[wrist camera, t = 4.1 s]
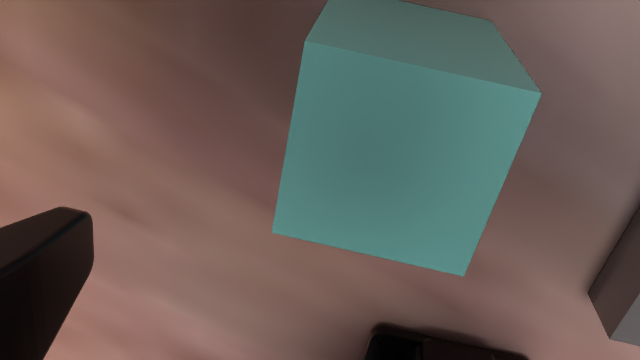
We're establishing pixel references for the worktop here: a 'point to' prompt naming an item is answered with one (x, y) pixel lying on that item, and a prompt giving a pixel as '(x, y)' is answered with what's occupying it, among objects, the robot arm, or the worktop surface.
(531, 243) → the worktop surface
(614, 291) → the parts tray
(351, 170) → the teal block
